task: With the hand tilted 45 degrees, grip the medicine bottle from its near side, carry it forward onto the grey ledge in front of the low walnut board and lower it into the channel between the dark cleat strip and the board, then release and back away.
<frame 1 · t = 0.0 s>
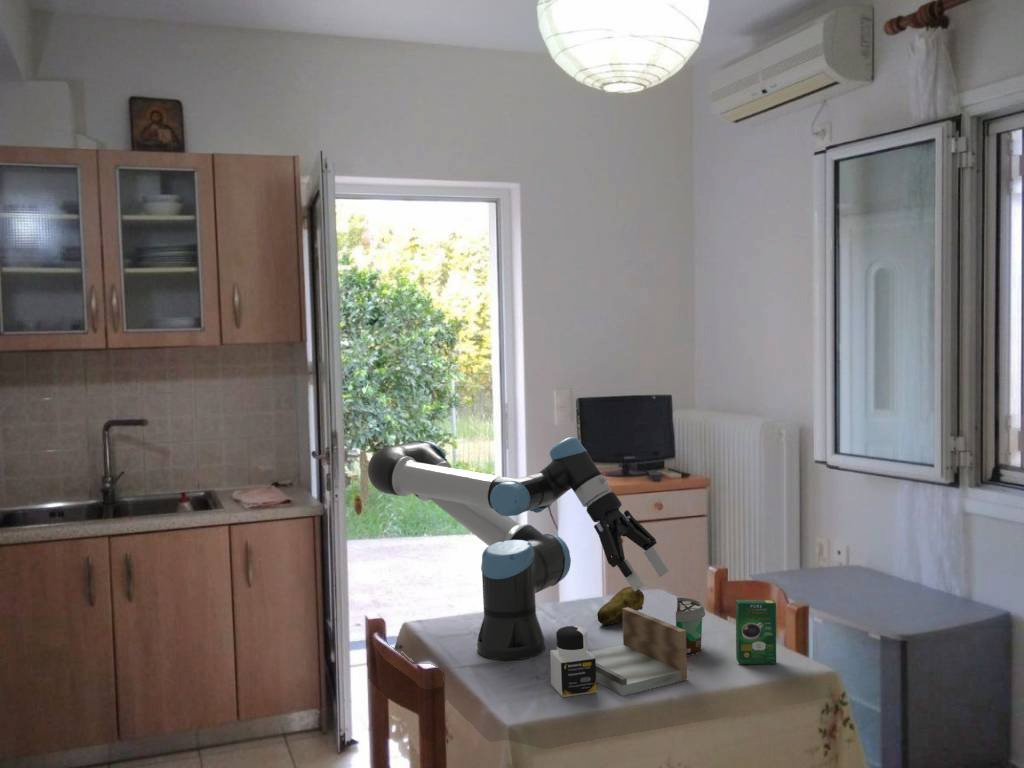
hand: (652, 581, 205), 15 cm above the table, tool tilted 35°, fingers open, 13 cm apart
potato: (620, 622, 227), on the table
medicine bottle: (573, 690, 184), on the table
wall board: (623, 673, 192), on the table
coffee box: (756, 663, 195), on the table
food container: (692, 650, 205), on the table
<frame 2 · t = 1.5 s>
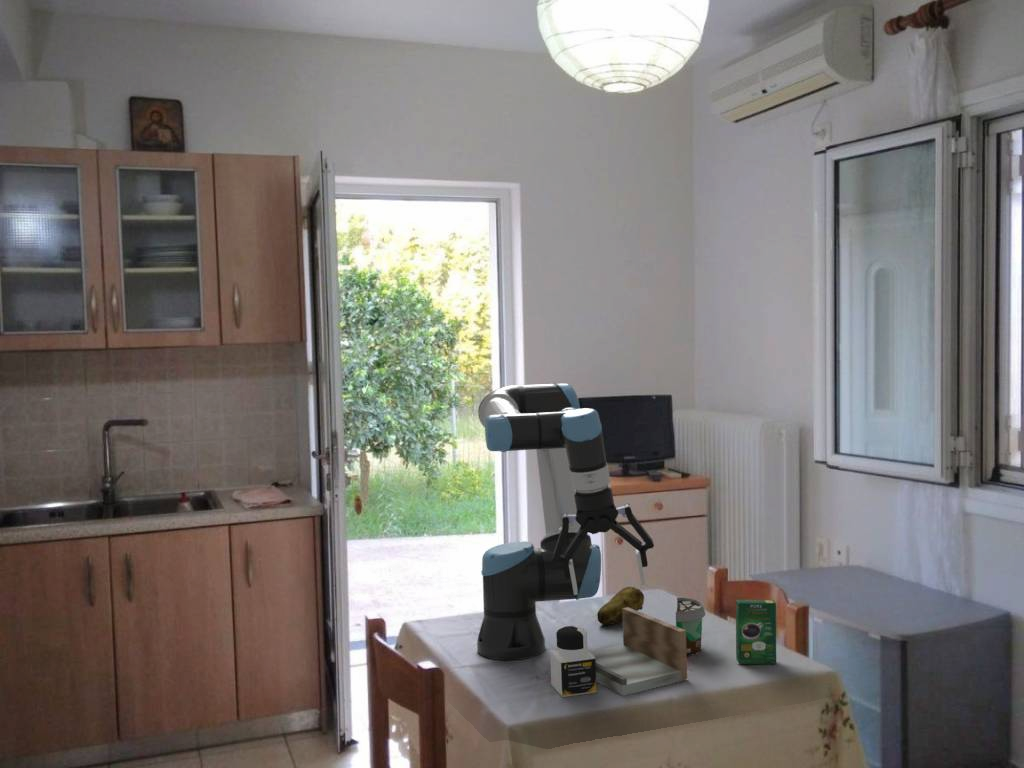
hand: (609, 587, 189), 18 cm above the table, tool pointing down, fingers open, 13 cm apart
nothing on the table moved.
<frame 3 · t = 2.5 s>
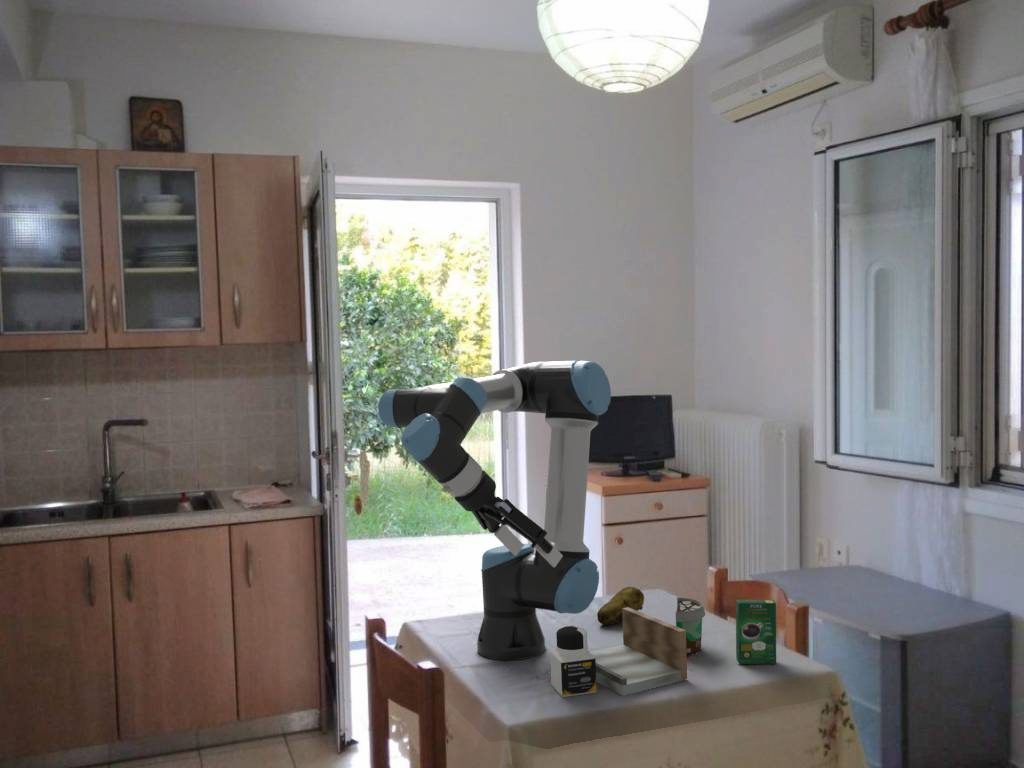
hand: (538, 555, 180), 27 cm above the table, tool tilted 45°, fingers open, 13 cm apart
nothing on the table moved.
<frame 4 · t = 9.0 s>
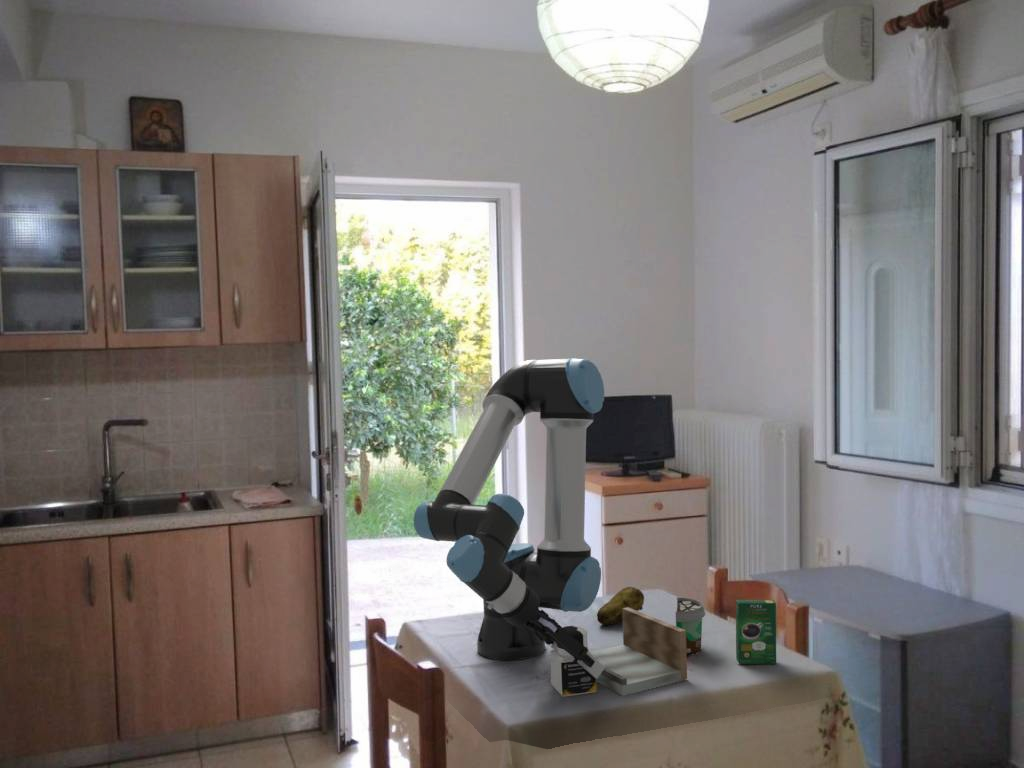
hand: (587, 666, 186), 4 cm above the table, tool tilted 45°, fingers closed on medicine bottle, 8 cm apart
medicine bottle: (573, 689, 184), on the table, touching gripper
everything else where it was.
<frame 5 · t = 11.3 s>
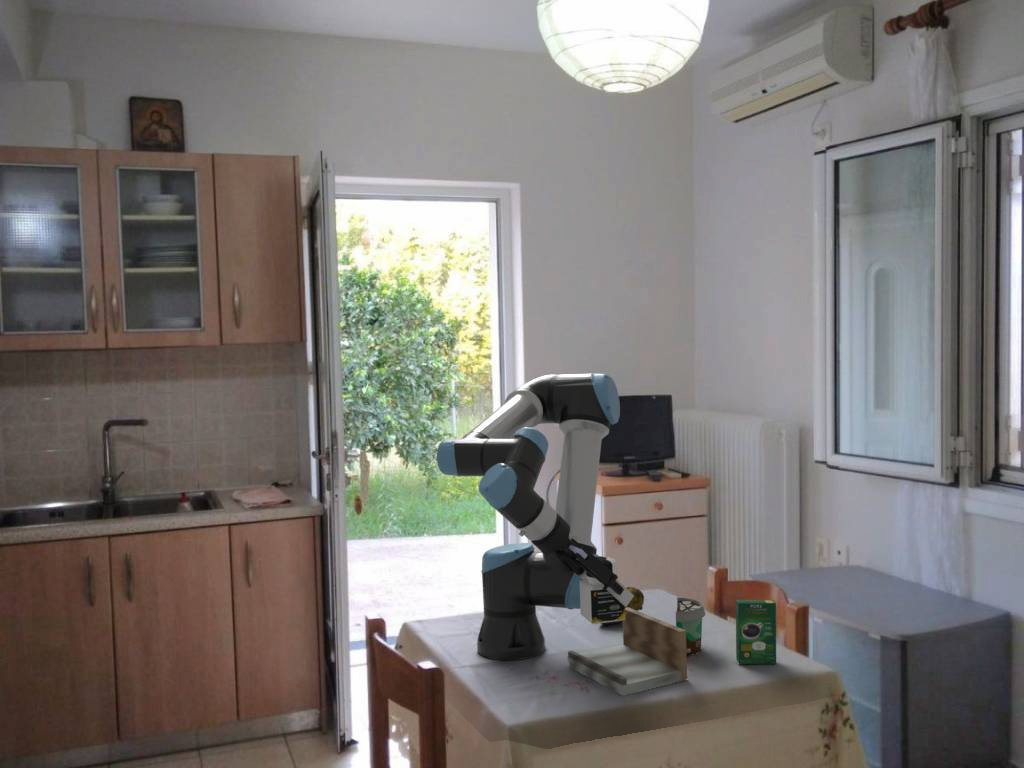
hand: (616, 595, 189), 17 cm above the table, tool tilted 45°, fingers closed on medicine bottle, 8 cm apart
medicine bottle: (602, 618, 188), point 13 cm above the table, touching gripper
everything else where it was.
when the fingers open (7 cm above the table, at t = 13.9 s): medicine bottle drops 1 cm, resting on wall board.
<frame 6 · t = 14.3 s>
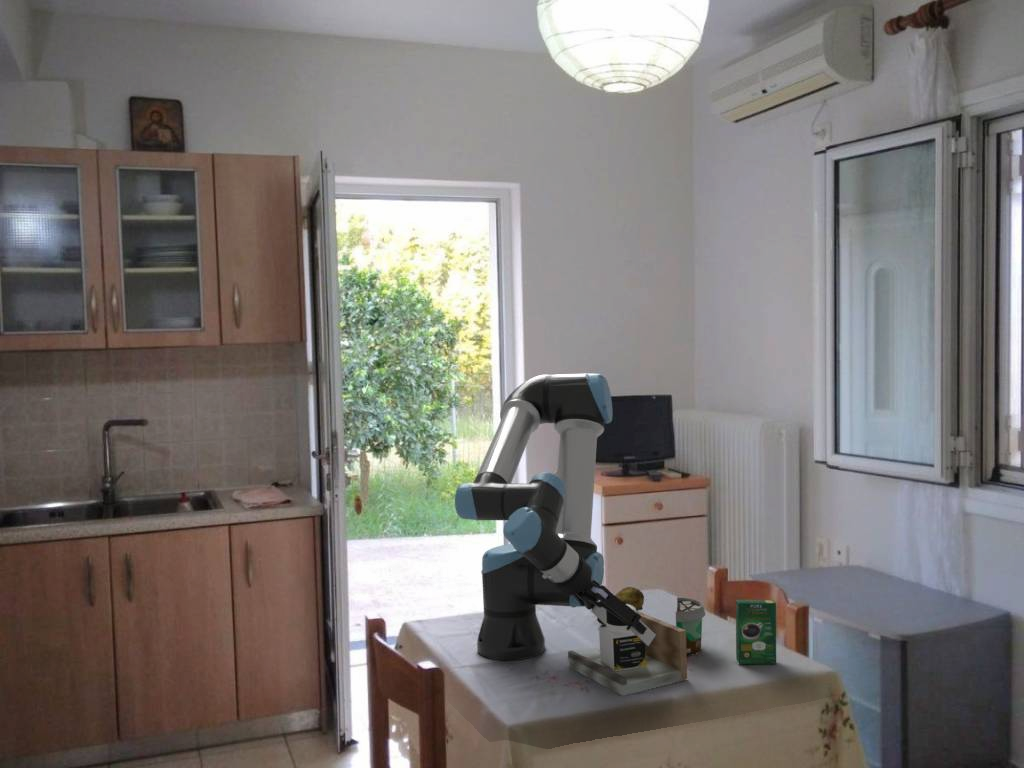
hand: (632, 632, 192), 8 cm above the table, tool tilted 45°, fingers open, 12 cm apart
medicine bottle: (623, 665, 191), point 2 cm above the table, touching wall board
everything else where it was.
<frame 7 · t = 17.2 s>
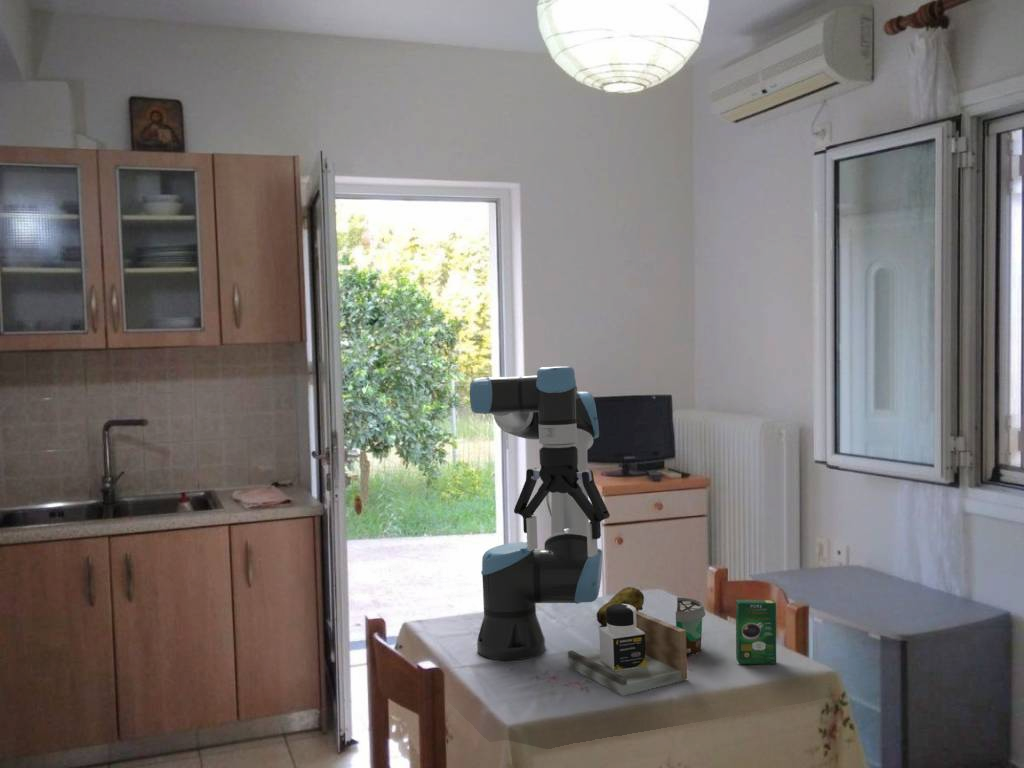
hand: (562, 552, 185), 27 cm above the table, tool pointing down, fingers open, 13 cm apart
nothing on the table moved.
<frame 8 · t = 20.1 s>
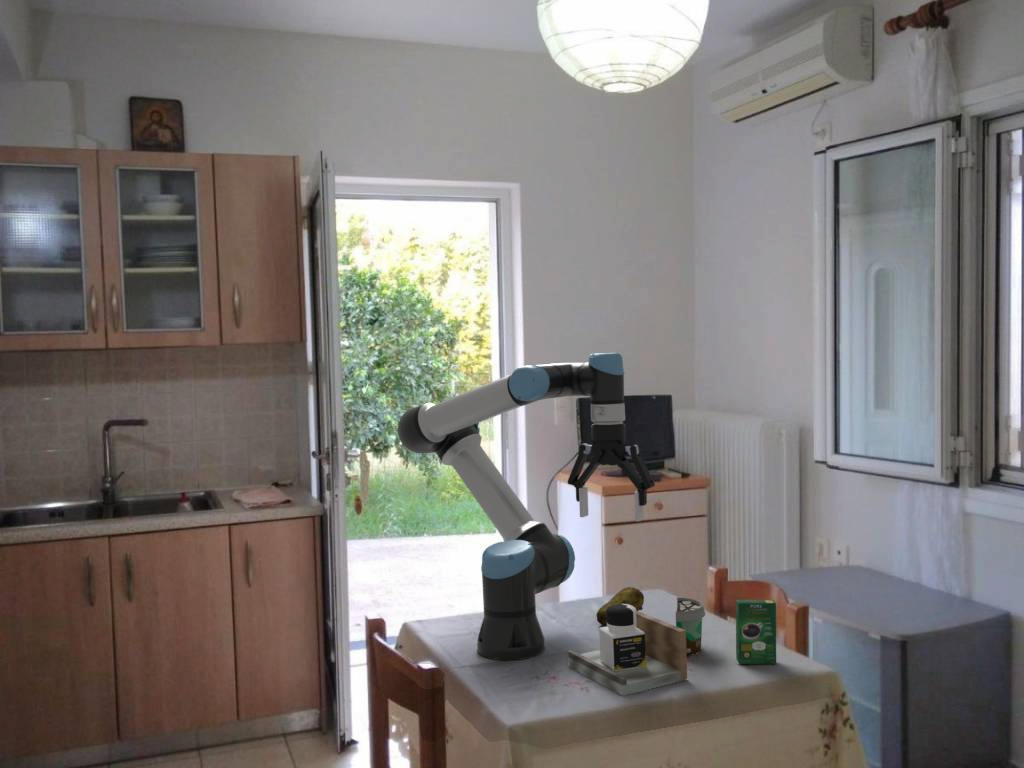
hand: (611, 518, 208), 29 cm above the table, tool pointing down, fingers open, 13 cm apart
nothing on the table moved.
at the end: medicine bottle inside the target area (0.4 cm from its centre), point 1.8 cm above the table; medicine bottle tilted 0°; the gripper is holding nothing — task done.
